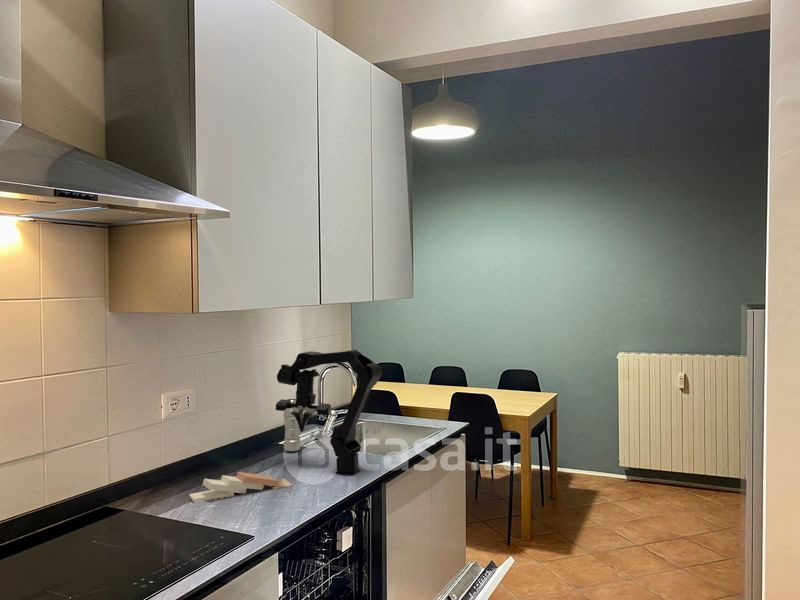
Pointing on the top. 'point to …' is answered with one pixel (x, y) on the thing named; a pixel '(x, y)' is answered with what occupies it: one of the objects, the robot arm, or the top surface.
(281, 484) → the birch pad
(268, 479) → the terracotta domino
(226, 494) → the ivory domino
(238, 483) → the ivory domino
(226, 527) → the top surface
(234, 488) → the ivory domino
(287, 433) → the plastic bottle
